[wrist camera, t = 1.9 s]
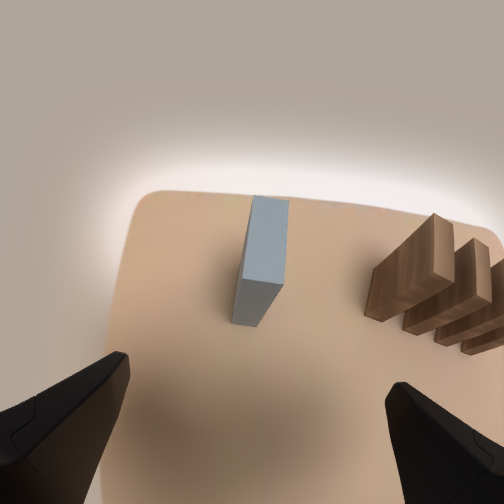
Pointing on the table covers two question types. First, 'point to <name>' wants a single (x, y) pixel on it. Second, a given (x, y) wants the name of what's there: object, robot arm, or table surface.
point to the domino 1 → (261, 260)
